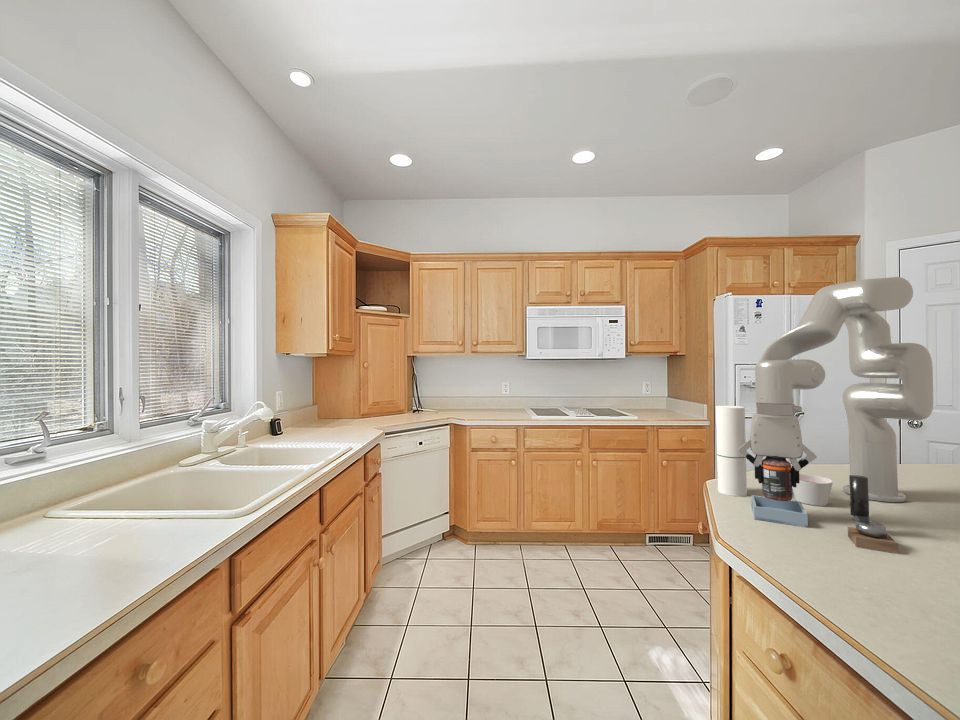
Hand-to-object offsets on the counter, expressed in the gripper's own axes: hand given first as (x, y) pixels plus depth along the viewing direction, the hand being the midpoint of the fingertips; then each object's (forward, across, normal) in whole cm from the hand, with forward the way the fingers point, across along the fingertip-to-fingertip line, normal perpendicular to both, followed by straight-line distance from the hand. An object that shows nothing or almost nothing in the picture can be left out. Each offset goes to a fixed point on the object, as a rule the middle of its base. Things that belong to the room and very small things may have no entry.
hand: (776, 483), depth 97 cm
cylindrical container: (+8, +9, -16) cm, 20 cm away
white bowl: (+8, -9, -17) cm, 21 cm away
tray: (+8, 0, 0) cm, 8 cm away
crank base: (+8, -15, +9) cm, 19 cm away
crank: (+6, -15, +6) cm, 17 cm away
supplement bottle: (+4, 0, 0) cm, 4 cm away
